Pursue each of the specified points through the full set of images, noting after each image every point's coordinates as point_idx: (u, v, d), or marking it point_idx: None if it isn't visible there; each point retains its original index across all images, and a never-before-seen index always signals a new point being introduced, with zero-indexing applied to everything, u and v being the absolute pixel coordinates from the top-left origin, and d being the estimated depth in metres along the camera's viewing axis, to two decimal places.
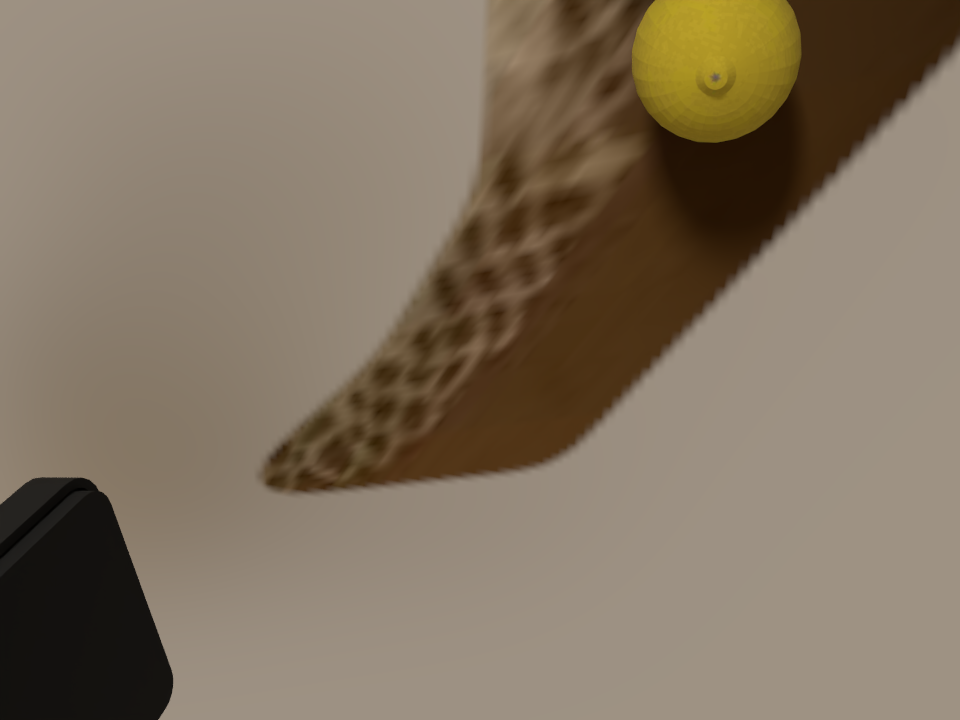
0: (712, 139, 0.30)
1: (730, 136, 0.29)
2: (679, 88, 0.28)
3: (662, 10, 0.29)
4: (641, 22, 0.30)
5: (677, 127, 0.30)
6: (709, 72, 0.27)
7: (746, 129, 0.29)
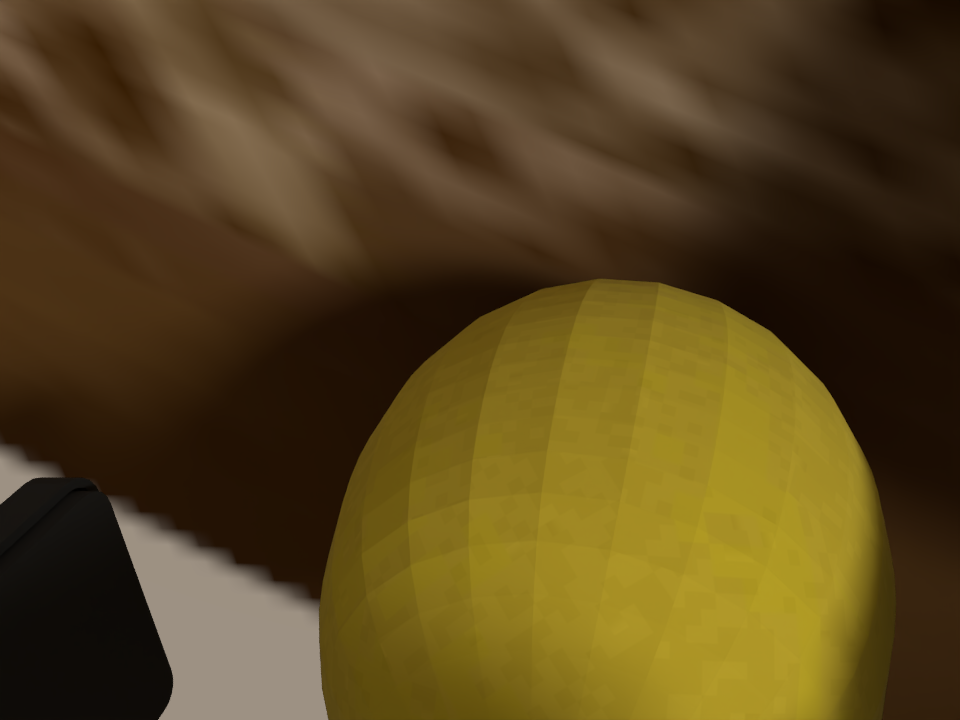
0: None
1: None
2: None
3: (759, 509, 0.07)
4: (680, 347, 0.08)
5: (330, 645, 0.08)
6: None
7: None
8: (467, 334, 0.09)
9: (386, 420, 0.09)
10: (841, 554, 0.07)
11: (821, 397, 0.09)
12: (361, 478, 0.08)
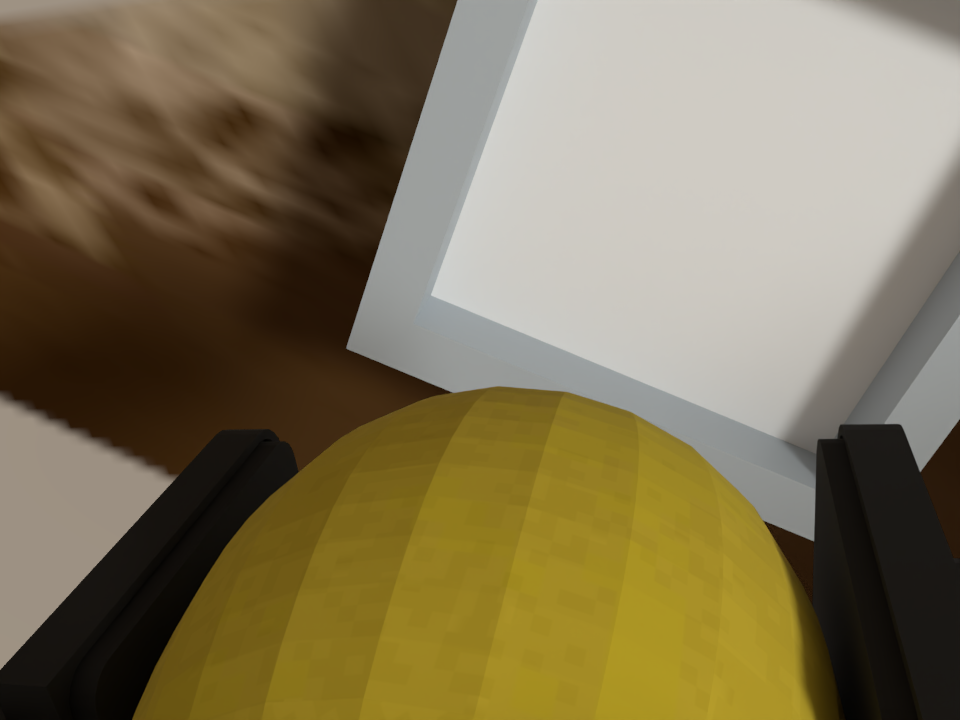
0: None
1: None
2: None
3: None
4: (569, 515, 0.06)
5: None
6: None
7: None
8: (310, 473, 0.07)
9: (196, 596, 0.07)
10: None
11: (761, 562, 0.07)
12: (152, 685, 0.06)
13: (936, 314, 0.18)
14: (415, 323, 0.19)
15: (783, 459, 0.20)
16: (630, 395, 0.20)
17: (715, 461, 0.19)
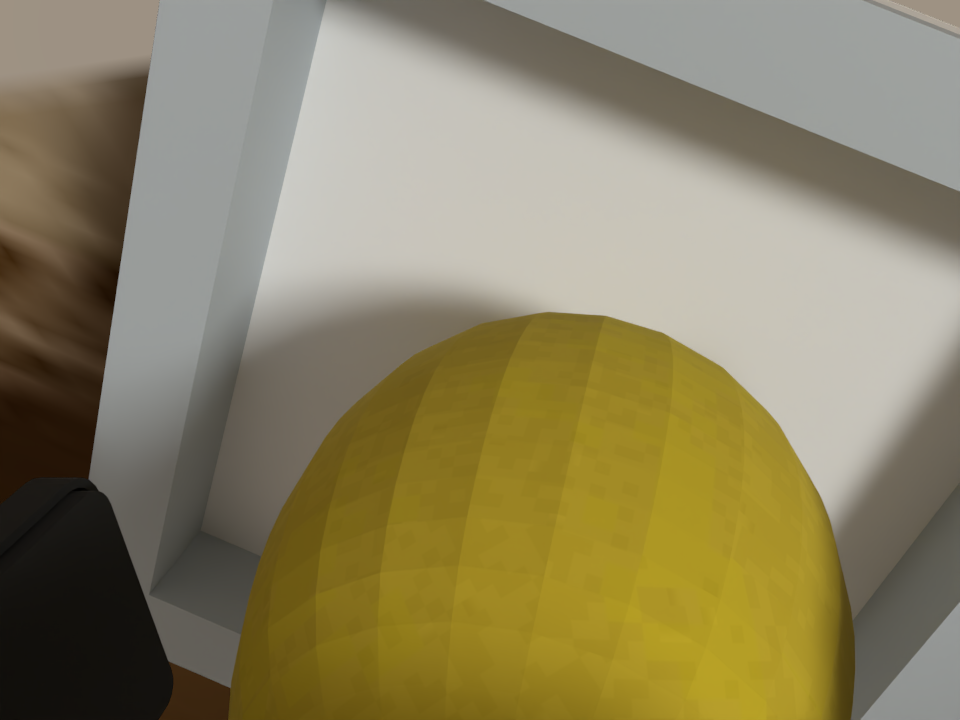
0: None
1: None
2: None
3: (699, 581, 0.06)
4: (620, 394, 0.07)
5: None
6: None
7: None
8: (397, 376, 0.08)
9: (307, 471, 0.08)
10: (789, 627, 0.06)
11: (774, 443, 0.08)
12: (276, 537, 0.08)
13: (892, 620, 0.12)
14: (153, 593, 0.14)
15: None
16: None
17: None
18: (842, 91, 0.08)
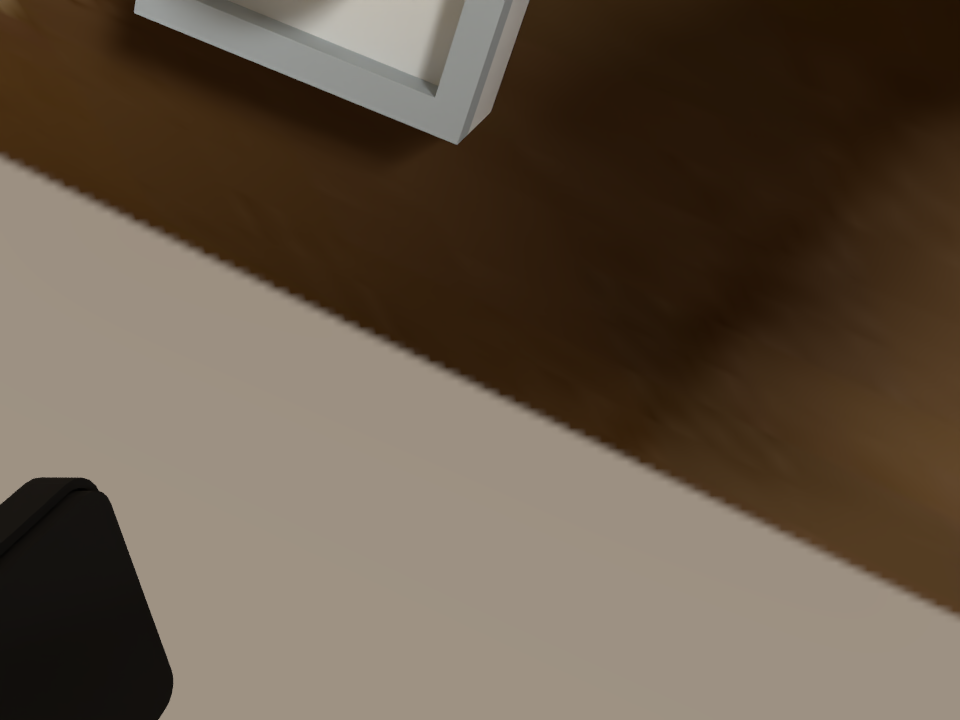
0: None
1: None
2: None
3: None
4: None
5: None
6: None
7: None
8: None
9: None
10: None
11: None
12: None
13: None
14: None
15: (412, 82, 0.31)
16: (314, 42, 0.31)
17: (362, 78, 0.30)
18: None
